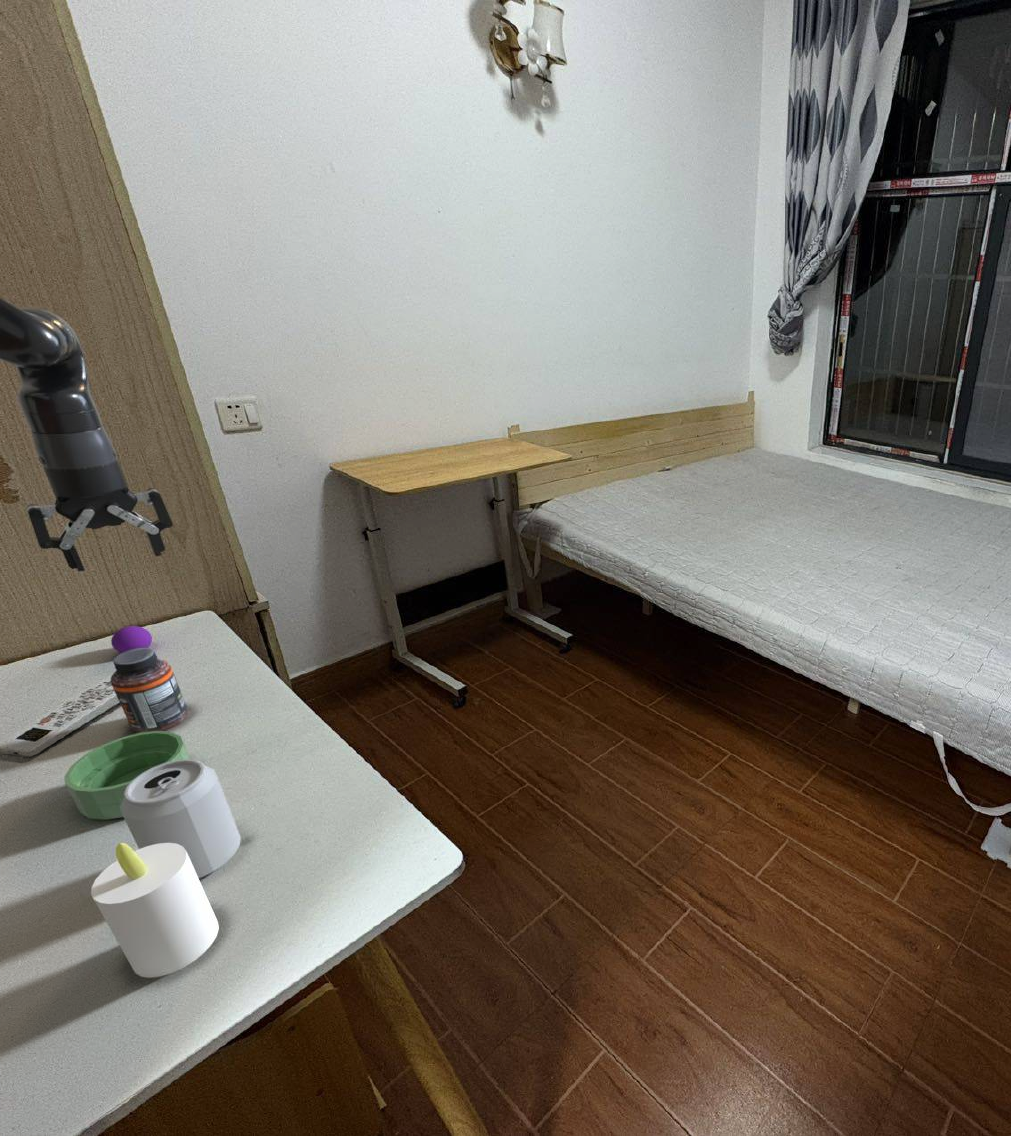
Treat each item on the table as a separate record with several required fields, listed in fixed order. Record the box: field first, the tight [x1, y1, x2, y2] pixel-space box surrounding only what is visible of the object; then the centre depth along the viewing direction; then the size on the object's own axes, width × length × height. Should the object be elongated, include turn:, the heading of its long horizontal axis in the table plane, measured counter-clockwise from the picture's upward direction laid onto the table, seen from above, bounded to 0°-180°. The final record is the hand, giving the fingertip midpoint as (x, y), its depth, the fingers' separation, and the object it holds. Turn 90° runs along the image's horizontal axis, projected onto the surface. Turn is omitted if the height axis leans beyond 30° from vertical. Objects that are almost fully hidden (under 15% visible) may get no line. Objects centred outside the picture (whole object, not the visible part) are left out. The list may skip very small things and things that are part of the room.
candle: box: [90, 842, 220, 979], centre depth 57 cm, size 6×6×15 cm
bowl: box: [64, 730, 191, 821], centre depth 75 cm, size 10×10×5 cm
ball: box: [110, 625, 153, 654], centre depth 99 cm, size 5×5×5 cm
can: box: [120, 758, 242, 879], centre depth 66 cm, size 8×8×12 cm
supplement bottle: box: [110, 647, 189, 734], centre depth 84 cm, size 6×6×11 cm
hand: (120, 561), depth 95 cm, fingers open, 8 cm apart
